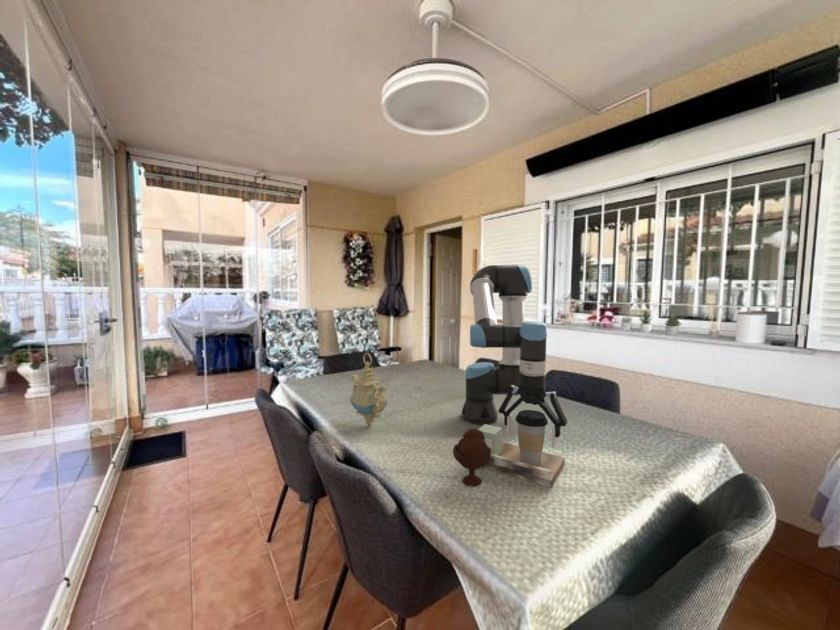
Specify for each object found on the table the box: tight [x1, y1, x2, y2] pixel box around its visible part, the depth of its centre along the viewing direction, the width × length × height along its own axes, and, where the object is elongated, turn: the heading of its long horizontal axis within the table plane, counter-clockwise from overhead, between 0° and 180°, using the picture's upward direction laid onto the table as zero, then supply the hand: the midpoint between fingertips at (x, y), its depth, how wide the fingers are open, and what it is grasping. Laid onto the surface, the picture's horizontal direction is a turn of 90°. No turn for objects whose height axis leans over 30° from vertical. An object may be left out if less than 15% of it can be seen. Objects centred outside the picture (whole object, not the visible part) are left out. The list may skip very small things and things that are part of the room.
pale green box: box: [477, 424, 503, 455], centre depth 115 cm, size 6×6×8 cm
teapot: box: [349, 352, 388, 428], centre depth 141 cm, size 24×12×30 cm, turn 39°
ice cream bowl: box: [452, 428, 491, 487], centre depth 102 cm, size 11×11×15 cm
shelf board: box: [482, 441, 566, 489], centre depth 112 cm, size 24×16×4 cm
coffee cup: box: [514, 409, 549, 466], centre depth 109 cm, size 9×9×15 cm
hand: (531, 441), depth 109 cm, fingers open, 13 cm apart
